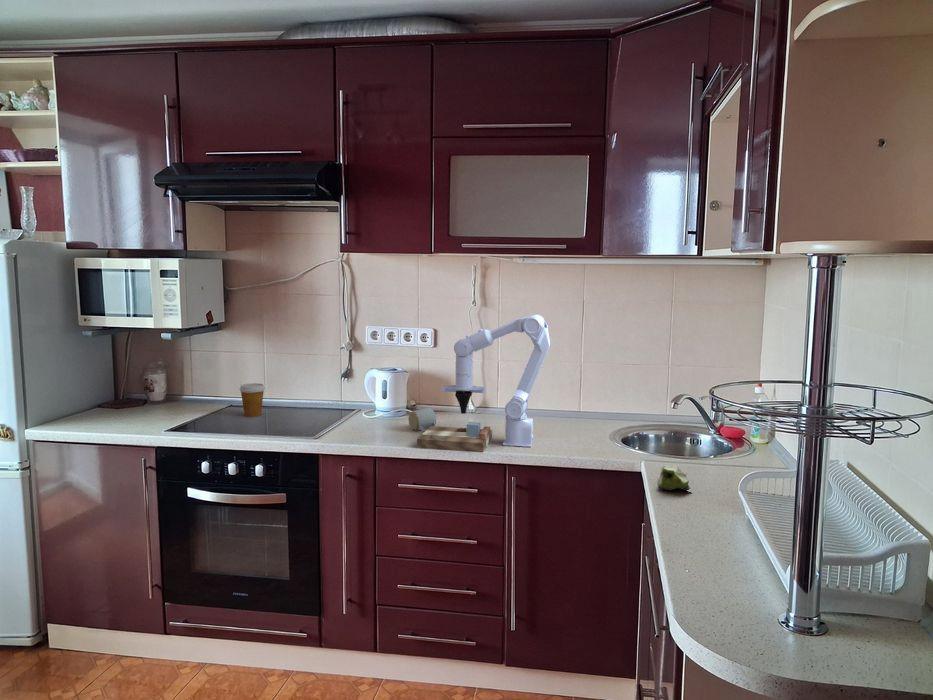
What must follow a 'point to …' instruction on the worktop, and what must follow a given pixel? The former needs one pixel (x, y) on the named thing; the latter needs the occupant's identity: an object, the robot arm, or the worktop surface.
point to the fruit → (672, 478)
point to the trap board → (454, 439)
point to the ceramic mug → (422, 419)
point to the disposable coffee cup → (252, 398)
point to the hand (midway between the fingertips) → (463, 412)
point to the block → (473, 429)
